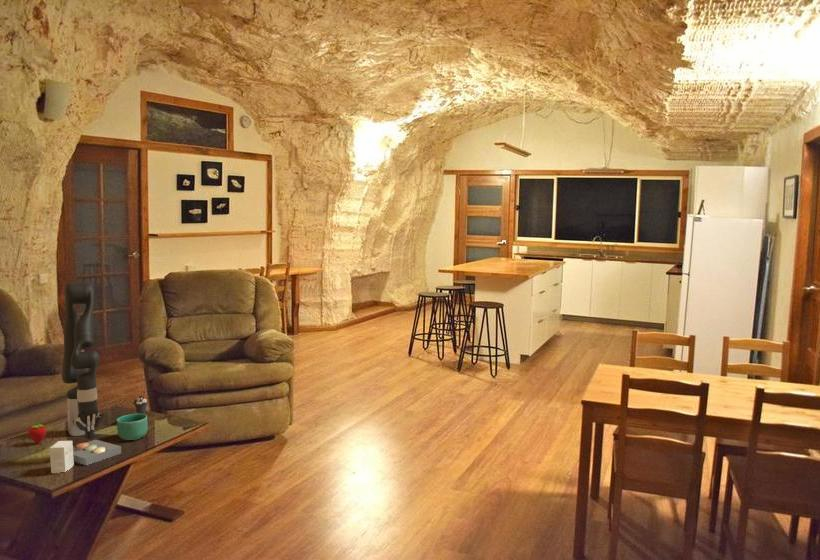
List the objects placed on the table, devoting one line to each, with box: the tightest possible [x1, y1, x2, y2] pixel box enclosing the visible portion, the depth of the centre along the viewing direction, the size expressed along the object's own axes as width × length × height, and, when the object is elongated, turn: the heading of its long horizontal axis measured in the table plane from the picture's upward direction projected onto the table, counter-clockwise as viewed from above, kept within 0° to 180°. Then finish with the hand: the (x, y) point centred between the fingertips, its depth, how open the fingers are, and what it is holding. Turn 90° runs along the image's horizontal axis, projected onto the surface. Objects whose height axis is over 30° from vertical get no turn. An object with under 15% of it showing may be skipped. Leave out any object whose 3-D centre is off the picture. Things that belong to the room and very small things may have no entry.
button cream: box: [93, 447, 105, 454], centre depth 272 cm, size 5×5×4 cm
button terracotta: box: [76, 442, 89, 449], centre depth 277 cm, size 5×5×4 cm
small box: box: [49, 440, 75, 474], centre depth 259 cm, size 8×6×10 cm
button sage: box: [85, 445, 97, 452], centre depth 274 cm, size 5×5×4 cm
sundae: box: [132, 391, 149, 415], centre depth 318 cm, size 7×7×15 cm
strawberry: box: [27, 423, 48, 445], centre depth 289 cm, size 6×8×10 cm
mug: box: [116, 413, 149, 441], centre depth 297 cm, size 17×13×10 cm
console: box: [73, 439, 122, 466], centre depth 274 cm, size 17×16×3 cm
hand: (89, 438), depth 274 cm, fingers closed
